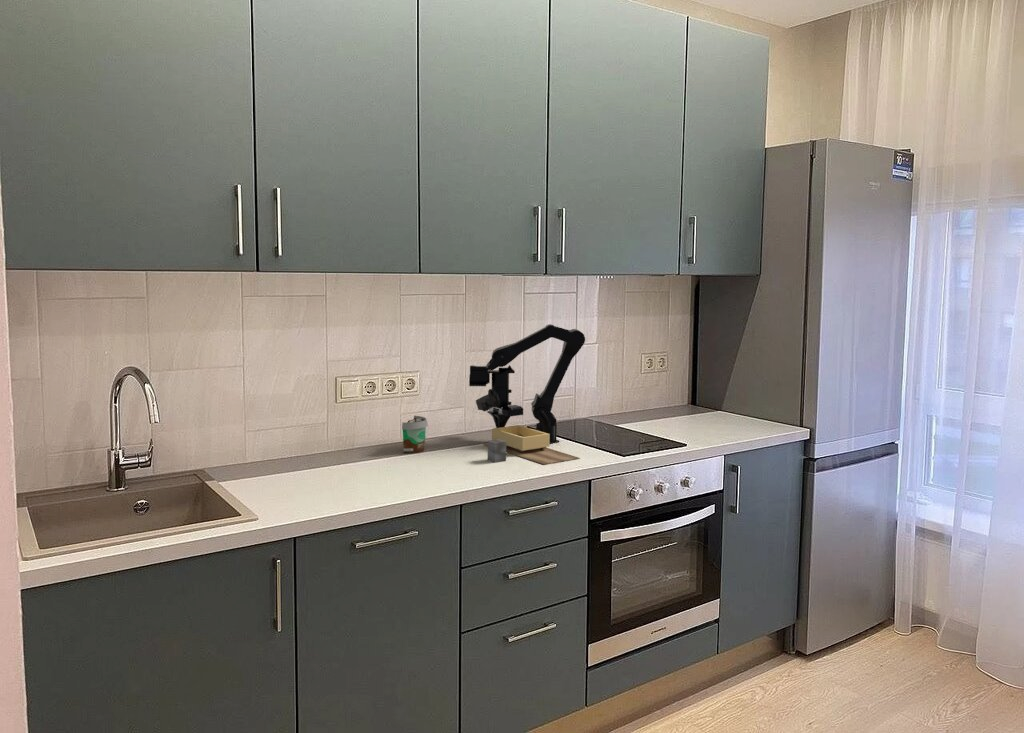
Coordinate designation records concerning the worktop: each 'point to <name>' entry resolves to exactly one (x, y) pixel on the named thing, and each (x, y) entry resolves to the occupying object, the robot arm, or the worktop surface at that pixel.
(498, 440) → the charcoal block
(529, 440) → the wooden tray
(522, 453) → the brown board
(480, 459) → the worktop surface
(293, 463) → the worktop surface
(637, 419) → the worktop surface
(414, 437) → the food container
